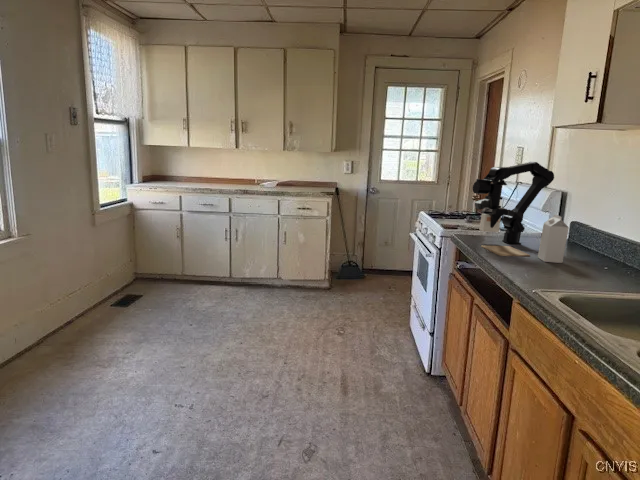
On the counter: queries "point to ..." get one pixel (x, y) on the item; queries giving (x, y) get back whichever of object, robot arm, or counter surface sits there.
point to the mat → (505, 250)
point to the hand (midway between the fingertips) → (489, 226)
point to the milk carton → (553, 240)
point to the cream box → (488, 224)
